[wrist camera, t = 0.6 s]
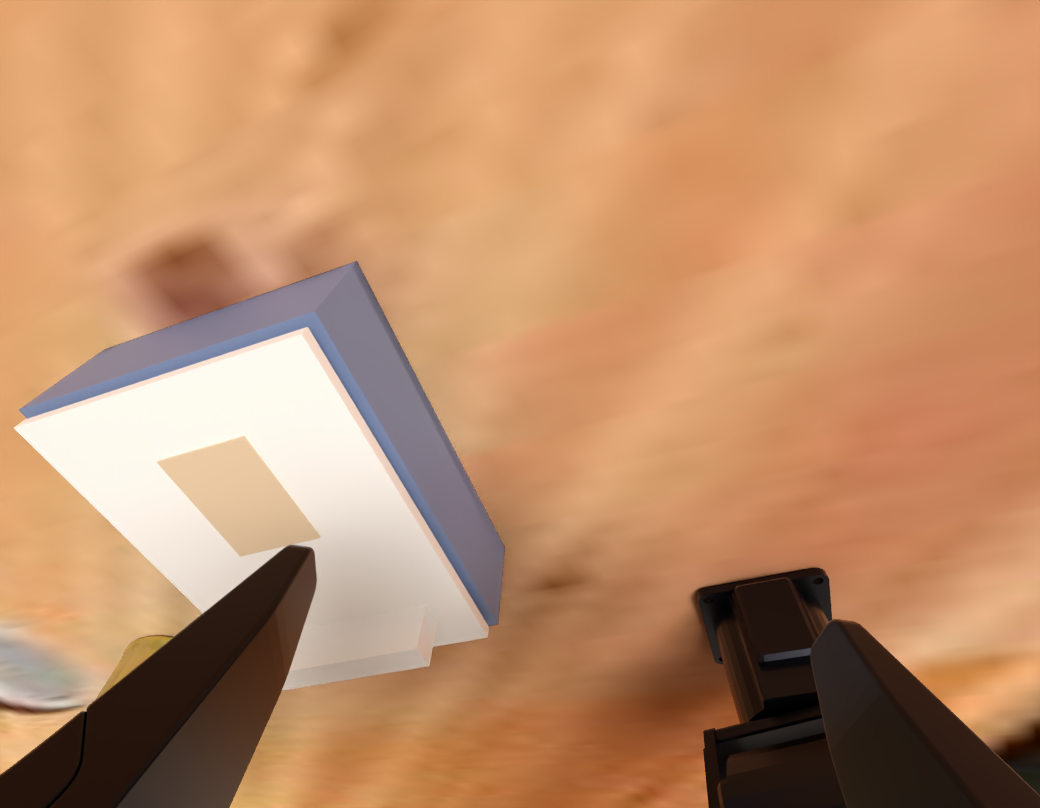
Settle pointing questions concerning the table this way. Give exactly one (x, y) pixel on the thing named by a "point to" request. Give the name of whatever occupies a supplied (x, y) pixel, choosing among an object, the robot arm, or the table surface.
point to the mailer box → (367, 379)
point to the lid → (268, 501)
